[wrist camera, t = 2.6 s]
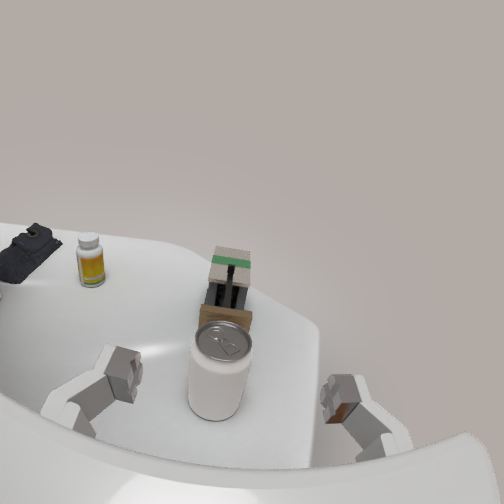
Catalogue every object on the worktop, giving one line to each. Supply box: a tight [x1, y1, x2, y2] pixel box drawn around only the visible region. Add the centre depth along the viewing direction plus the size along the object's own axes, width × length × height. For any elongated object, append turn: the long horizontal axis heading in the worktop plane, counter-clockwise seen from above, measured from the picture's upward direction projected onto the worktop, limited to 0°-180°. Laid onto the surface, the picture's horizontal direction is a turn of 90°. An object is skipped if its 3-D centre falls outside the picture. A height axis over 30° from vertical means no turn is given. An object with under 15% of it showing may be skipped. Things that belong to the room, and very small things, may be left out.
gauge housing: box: [204, 246, 250, 310], centre depth 46 cm, size 10×7×10 cm, turn 1°
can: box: [188, 321, 253, 421], centre depth 28 cm, size 6×6×12 cm
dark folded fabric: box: [0, 223, 62, 284], centre depth 46 cm, size 15×22×5 cm
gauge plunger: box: [198, 264, 252, 333], centre depth 37 cm, size 10×6×10 cm, turn 1°
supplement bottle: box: [76, 232, 105, 287], centre depth 45 cm, size 5×5×10 cm
